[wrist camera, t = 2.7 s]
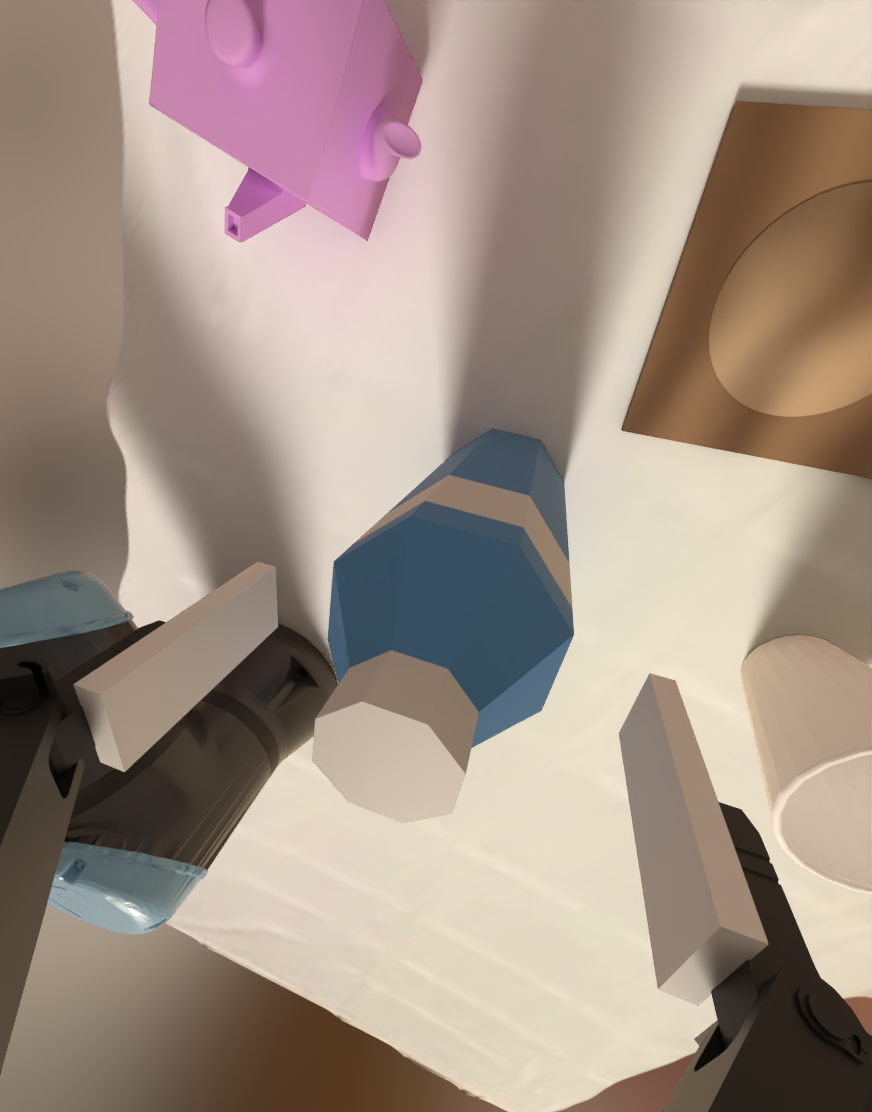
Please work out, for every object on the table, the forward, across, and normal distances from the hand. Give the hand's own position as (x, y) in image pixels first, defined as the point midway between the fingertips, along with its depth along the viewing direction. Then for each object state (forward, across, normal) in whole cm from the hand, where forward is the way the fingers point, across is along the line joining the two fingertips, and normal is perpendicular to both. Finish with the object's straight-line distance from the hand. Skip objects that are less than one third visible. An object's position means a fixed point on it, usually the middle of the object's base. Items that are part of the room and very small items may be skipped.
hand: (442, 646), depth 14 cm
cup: (+20, +24, -9) cm, 33 cm away
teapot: (+20, -16, +19) cm, 32 cm away
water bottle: (+20, 0, 0) cm, 20 cm away
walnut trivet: (+20, +15, +14) cm, 29 cm away
